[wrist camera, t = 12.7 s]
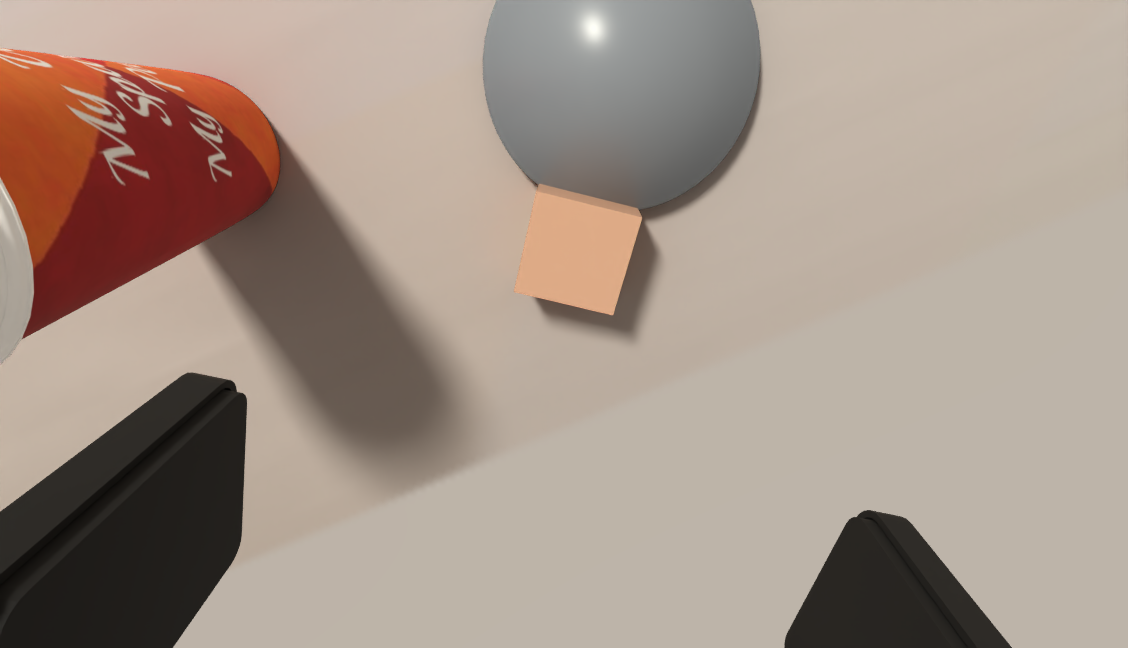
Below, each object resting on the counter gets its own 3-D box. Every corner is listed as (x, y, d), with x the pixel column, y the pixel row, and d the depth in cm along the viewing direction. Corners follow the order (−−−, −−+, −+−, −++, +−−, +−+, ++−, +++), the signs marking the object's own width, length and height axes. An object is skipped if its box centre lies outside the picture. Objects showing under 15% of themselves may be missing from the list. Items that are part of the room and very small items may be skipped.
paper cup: (327, 93, 22) (-31, 108, 9) (286, 270, 25) (-31, 475, 12) (117, 5, 21) (-621, -118, 8) (100, 200, 24) (-468, 340, 11)
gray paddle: (516, -122, 19) (507, -150, 17) (796, -41, 20) (825, -57, 18) (451, 255, 24) (437, 273, 22) (675, 309, 25) (685, 332, 23)
